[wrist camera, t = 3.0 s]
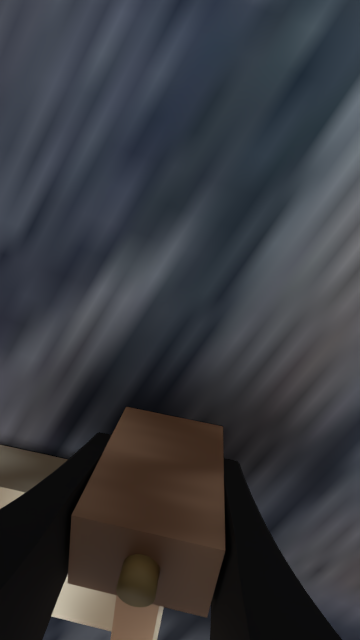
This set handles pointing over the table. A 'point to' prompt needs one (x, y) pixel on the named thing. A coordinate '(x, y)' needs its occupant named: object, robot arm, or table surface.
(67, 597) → the board
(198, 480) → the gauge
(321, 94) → the table surface
